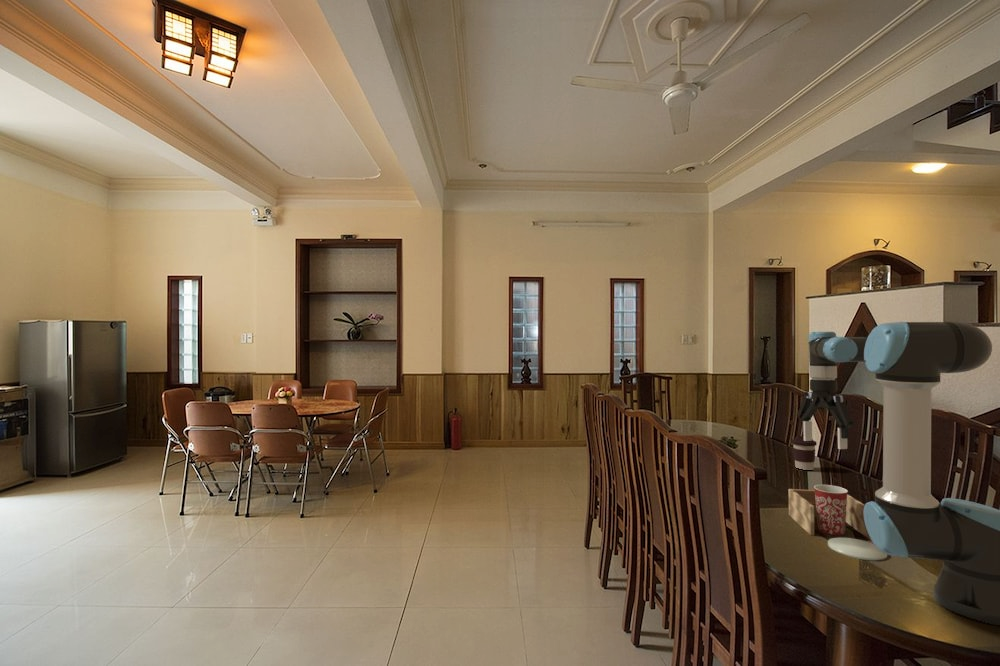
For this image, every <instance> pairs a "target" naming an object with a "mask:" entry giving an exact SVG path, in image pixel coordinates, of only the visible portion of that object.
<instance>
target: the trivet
mask: <svg viewBox="0 0 1000 666" xmlns="http://www.w3.org/2000/svg"><path fill="white" fill-rule="evenodd" d="M827 546H828V548H829V549H830V550H832V551H833V552H836V553H838V554H840V555H842V556H845V557H849V558H853V559H858V560H863V561H876V562H877V561H883V560H886V559H887V558H888V555H887V554H885V553H883V552H881V551H880V550H879V549H878V548H877V547H876V546H875V544H874V543H873V542H870V541H867V540H863V539H858V538H851V537H833V538H829V539H828V540H827Z"/></svg>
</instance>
